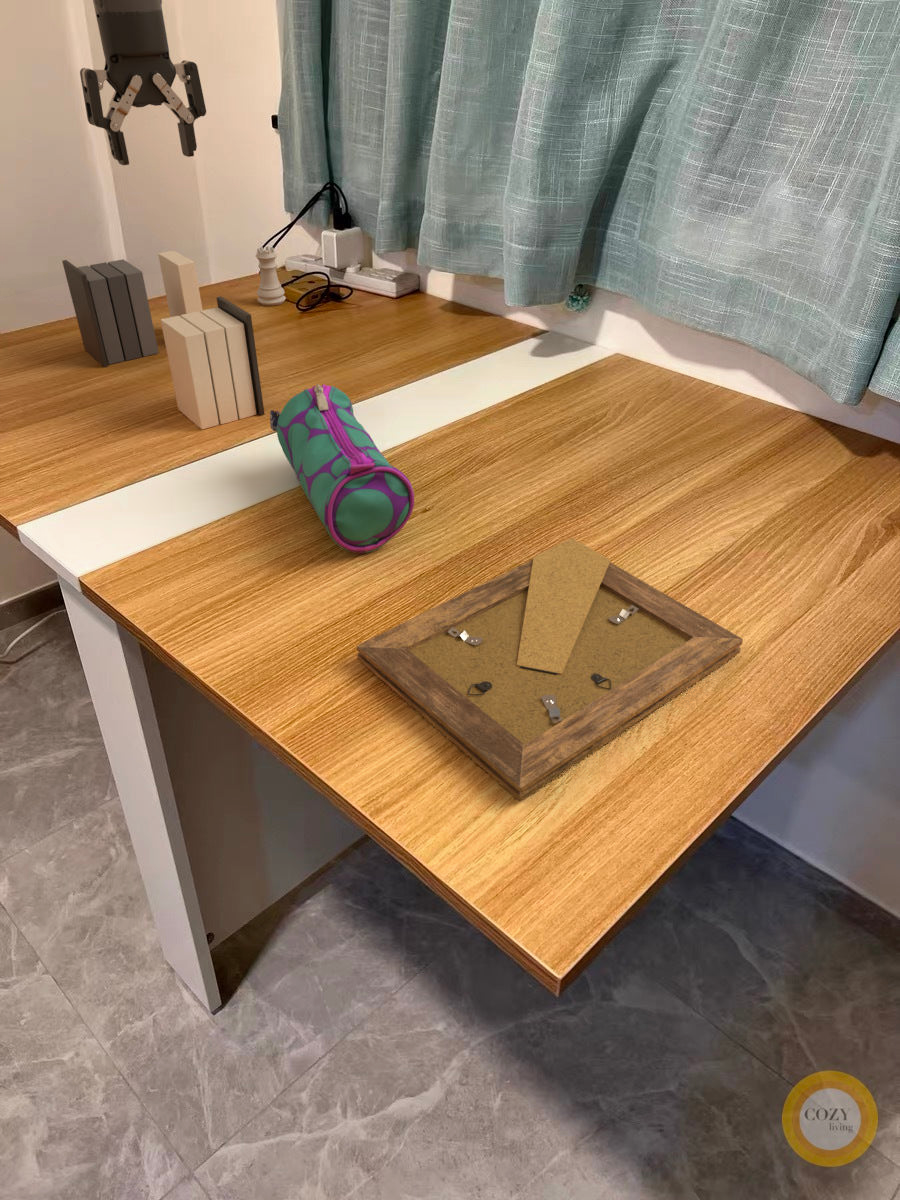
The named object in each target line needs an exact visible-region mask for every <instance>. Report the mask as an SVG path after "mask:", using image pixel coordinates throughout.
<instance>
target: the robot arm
mask: <svg viewBox="0 0 900 1200" xmlns="http://www.w3.org/2000/svg"><path fill="white" fill-rule="evenodd" d="M92 2H93V7H94V12H95V18H96V22H97V27H98V31H99V32H98V33H99V36H100V41H101V47H102V51H103V56H104V61H105V62H104V67H103V68H104V69H91V68H87V67H82V68H81V69H80V71H79V77H80V82H81V89H82V94H83V95H82V96H83V100H84V106H85V112H86V117H87V122H88V123H89V124H90V125H91V126H94V127H96V128H100V129H103V130H105V131H106V135H107V138H108V143H109V148H110V153H111V156H112V157H113V159H114V160H116V161H117V162H118V164H119V165H121V166H129V165H130V159H129V155H128V149H127V145H126V140H125V136H124V131H122V130H121V127H122V125H123V122H124V120H125V118H126V116H128V114H129V113H130V111H131V108H132V107H134V108H144V107H146V106H149V105H150V106H154V107H155V106H156V107H157V106H162V105H163V104H164V106H165V107H166V108H167V109H169V110H170V111H171V112H172V114H173V115H174V116H175V117H176V118H177V119H178V120H179V122H177V123H176V124H177V129H178V136H179V141H180V147H181V153H182V155H183V156H185V157H188V158H191V157H195V151H197V147H198V145H197V138H196V134H195V133H196V131H195V126H194V123H195V121H196V120H197V119H199V118H200V117H204V116H206V115H207V107H206V103H205V98H204V93H203V87H202V82H201V78H200V73H199V68H198V65H197V63H195V62H194V61H191V60H182V61H181V62H180V63H179V62H178V63H173V62H172V59H171V56H170V48H169V43H168V36H167V30H166V23H165V19H164V13H163V6H162V5H163V1H162V0H92ZM177 76H178V79H179V80H180V82H181V83H183V84H184V89H185V93H186V99H187V103H188V107H187V106H186V105H185V104H184V102H183V100H182V99H181V98H180V97H179V96H178V94H177V93H176V92H175V91H174V90H173V88H172V86H173V83H174V81H175V79H176V77H177ZM105 81H106V82H107V83H108V84H109V85H110V86H111V88H113V90H114V92H113V94H112V97H111V99H110V102H109V105H108V110H107V112H106V115H105V116H104V112H103V111H104V110H103V105H102V99H101V92H100V91H102V90H103V89H104V82H105Z"/></svg>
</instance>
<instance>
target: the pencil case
mask: <svg viewBox="0 0 900 1200" xmlns="http://www.w3.org/2000/svg"><path fill="white" fill-rule="evenodd" d="M269 425H270V429H271V430H272V431H273V432H276V436H277V440H278V443H279V446H280V447H281V449H282V452H283V454H284V456H285V458H286V460H287V461H288V463H289V464H290V466H291V468H292V470H293V471H294V474H295V476H296V479H297V481H298V483H299V485H300V486H301V488H302V490H303V493H304V495H305V496H306V498H307V500H308V501H309V503H310V505H311V507H312V509H313V511H314V512H315V514H316V515H317V516H318V518H319V520H320V522H321V523H322V525H323V526H324V528H325V529H326V532H327V534H328V536H329V537H330V538H331V540H332V541H333V543H335V544H336V545H337V546H338V547H339V548H341V549H342V550H345V551H348V552H351V553H357V554H358V553H360V554H365V553H366V554H367V553H372V552H374V551H376V550H378V549H380V548H382V547H383V546H385V545H386V544H387V543H388V542H389V541H391V540H392V539H393V538H394V537H395V536H397V534H398V533H400V531H401V530H402V529H403V528H404V527H405V525H406V524H407V522H409V519H410V518H411V516H412V514H413V510H414V507H415V491H414V488H413V485H412V483H411V481H410V480H409V478H408V477H407V476H406V474H404V472H402V471H401V470H400V469H398V468H397V467H395V466H393V465H391V464H390V463H389V461H388V460H387V458H386V457H385V456H384V455H383V454H382V452H381V451H380V450H379V448H378V447H377V446H376V444H375V442H374V440H373V439H372V437H371V436H370V434H369V433H368V431H367V430H366V429H365V427H364V426H363V424H361V423H360V422H359V421H358V420H357V418H356V416H355V414H354V407H353V404H352V401H351V399H350V397H349V395H348V394H346V393H345V392H344V391H342V390H340V389H339V388H338V387H335V386H334V385H327V384H322V385H321V384H316V385H313V386H312V387H310V388H305V389H304V390H302V391H300V392H299V393H297V394H295V395H294V396H292V397H291V398H290V399H289V400H288V401H287V402H286V404H285V405H284V407H283V408H282V410H281V411H279V410H273V409H271V410H270V412H269Z"/></svg>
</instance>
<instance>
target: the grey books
mask: <svg viewBox="0 0 900 1200" xmlns="http://www.w3.org/2000/svg"><path fill="white" fill-rule="evenodd" d="M61 261H62V265H63V266H62V267H63V269H64V273H65V278H66V282H67V286H68V289H69V290H68V291H69V293H70V298H71V301H72V305H73V309H74V313H75V317H76V321H77V324H78V325H77V326H78V329H79V332H80V336H81V340H82V344H83V348H84V350H85V351H86V352H87V354H89V355H90V356H91V357H92V358H93V359H95V361H96V362H98V363H99V364H100V365H101V366H102V368H107V367H109V366H110V365H114V364H117V363H118V364H119V363H123V362H125V361H126V362H127V361H131V360H137V359H140V358H142V357H144V358H145V357H148V356H153V355H157V354H160V352H159V347H158V342H157V337H156V333H155V327H154V322H153V318H152V313H151V308H150V303H149V298H148V293H147V289H146V282H145V279H144V275H143V274H144V273H143V271H142V270H140V269H139V268H137V267H136V266H134V265H133V264H131V263H130V262H128V261H126V259H124V258H123V259H118V260H112V261H108V262H100V263H94V264H90V265H83V266H82V265H81V266H75V265H74V264H72V263H71V262H70V261H68V260H67V259H63V260H61Z"/></svg>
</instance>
